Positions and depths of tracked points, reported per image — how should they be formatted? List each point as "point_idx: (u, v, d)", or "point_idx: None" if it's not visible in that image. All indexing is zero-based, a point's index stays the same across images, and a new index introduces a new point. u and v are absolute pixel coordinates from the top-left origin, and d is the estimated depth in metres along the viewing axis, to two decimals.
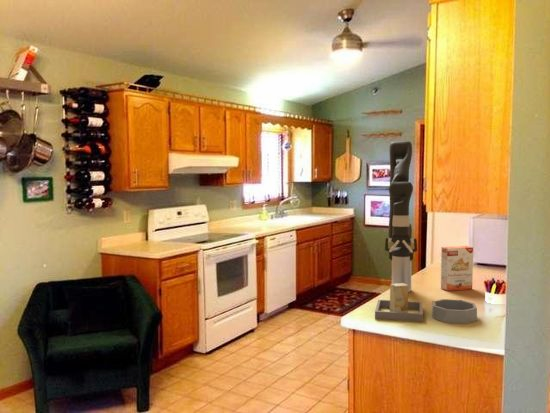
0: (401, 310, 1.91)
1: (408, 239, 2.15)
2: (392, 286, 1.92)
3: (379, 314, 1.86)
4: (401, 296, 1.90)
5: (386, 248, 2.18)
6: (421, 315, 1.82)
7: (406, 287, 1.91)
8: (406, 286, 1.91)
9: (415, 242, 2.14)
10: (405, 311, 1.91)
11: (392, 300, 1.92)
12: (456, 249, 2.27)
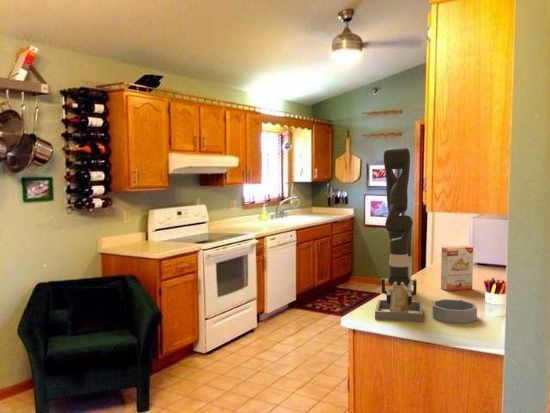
0: (401, 310, 1.91)
1: (407, 281, 1.90)
2: None
3: (379, 314, 1.86)
4: (401, 296, 1.90)
5: (383, 291, 1.93)
6: (421, 315, 1.82)
7: None
8: (406, 286, 1.91)
9: (415, 285, 1.89)
10: (406, 311, 1.91)
11: (392, 300, 1.92)
12: (456, 249, 2.27)
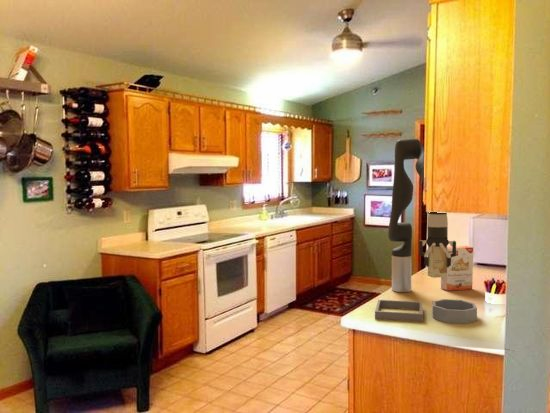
0: (440, 273, 1.85)
1: (446, 242, 1.85)
2: None
3: (379, 314, 1.86)
4: (440, 257, 1.85)
5: (421, 252, 1.88)
6: (421, 315, 1.82)
7: None
8: None
9: (454, 246, 1.84)
10: (444, 273, 1.86)
11: (430, 262, 1.86)
12: (456, 249, 2.27)
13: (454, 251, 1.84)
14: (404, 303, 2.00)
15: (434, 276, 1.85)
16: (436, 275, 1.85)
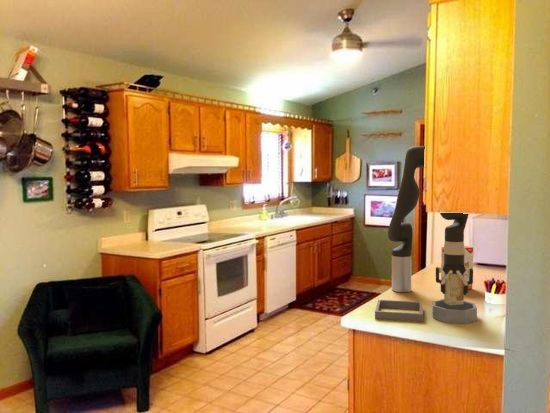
0: (457, 300, 1.84)
1: (463, 269, 1.84)
2: None
3: (379, 314, 1.86)
4: (457, 285, 1.84)
5: (437, 280, 1.87)
6: (421, 315, 1.82)
7: None
8: None
9: (471, 273, 1.83)
10: (461, 300, 1.85)
11: (447, 289, 1.85)
12: None
13: (471, 279, 1.83)
14: (404, 303, 2.00)
15: (451, 303, 1.84)
16: (453, 303, 1.84)
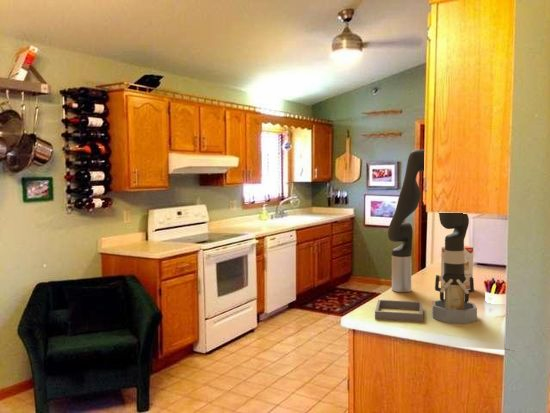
0: None
1: (463, 278, 1.84)
2: (448, 286, 1.86)
3: (379, 314, 1.86)
4: (457, 296, 1.84)
5: (437, 288, 1.87)
6: (421, 315, 1.82)
7: None
8: None
9: (472, 282, 1.83)
10: None
11: (447, 300, 1.86)
12: None
13: (472, 287, 1.83)
14: (404, 303, 2.00)
15: None
16: None
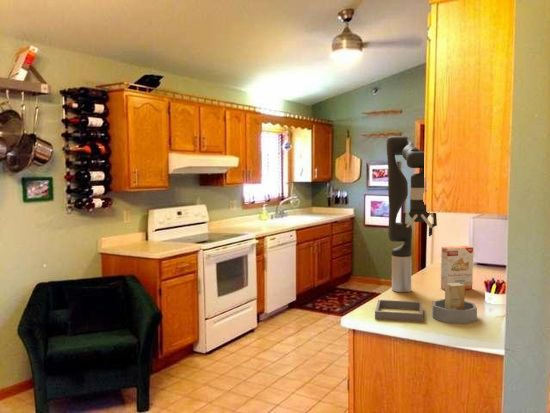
0: None
1: (427, 213, 2.00)
2: (448, 286, 1.86)
3: (379, 314, 1.86)
4: (457, 296, 1.84)
5: (403, 223, 2.03)
6: (421, 315, 1.82)
7: (462, 287, 1.85)
8: (462, 286, 1.85)
9: (435, 216, 2.00)
10: None
11: (447, 300, 1.86)
12: (456, 249, 2.27)
13: (435, 221, 2.00)
14: (404, 303, 2.00)
15: None
16: None
